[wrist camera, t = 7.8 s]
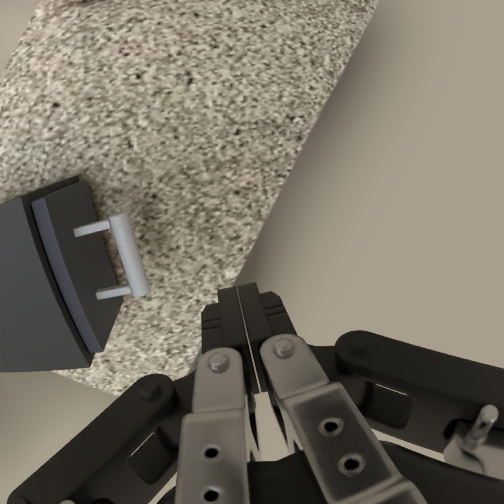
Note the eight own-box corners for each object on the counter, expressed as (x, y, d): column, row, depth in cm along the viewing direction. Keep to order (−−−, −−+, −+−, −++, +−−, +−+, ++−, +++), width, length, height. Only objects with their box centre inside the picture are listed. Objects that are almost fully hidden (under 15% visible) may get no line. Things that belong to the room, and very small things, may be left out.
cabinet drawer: (134, 165, 23) (104, 177, 15) (167, 291, 27) (157, 344, 20) (-12, 216, 21) (-60, 242, 14) (26, 317, 25) (-6, 361, 18)
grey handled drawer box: (77, 174, 23) (20, 196, 14) (117, 302, 27) (90, 367, 18) (-22, 214, 21) (-80, 245, 13) (18, 319, 26) (-20, 372, 17)
